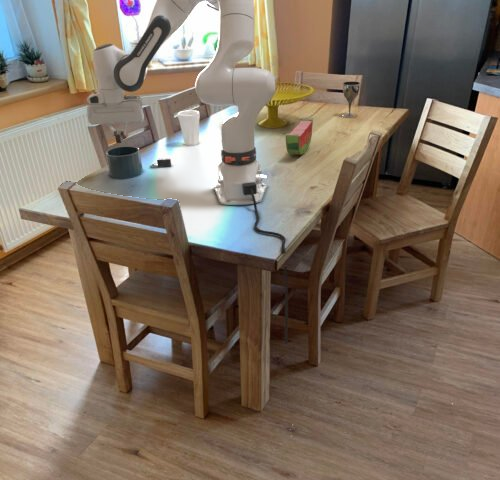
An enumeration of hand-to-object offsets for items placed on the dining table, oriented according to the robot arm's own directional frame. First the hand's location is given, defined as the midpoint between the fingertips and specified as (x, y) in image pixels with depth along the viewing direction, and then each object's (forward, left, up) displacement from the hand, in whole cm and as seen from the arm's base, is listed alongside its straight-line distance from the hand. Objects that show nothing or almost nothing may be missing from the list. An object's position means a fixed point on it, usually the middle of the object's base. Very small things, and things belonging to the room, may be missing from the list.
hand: (119, 135), depth 194 cm
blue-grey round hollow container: (+1, 0, -15) cm, 15 cm away
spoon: (+1, 0, -2) cm, 2 cm away
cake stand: (+64, -61, -15) cm, 89 cm away
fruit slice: (+19, -70, -15) cm, 74 cm away
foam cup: (+37, -23, -15) cm, 46 cm away
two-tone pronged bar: (+7, -13, -14) cm, 21 cm away
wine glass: (+73, -100, -15) cm, 124 cm away
